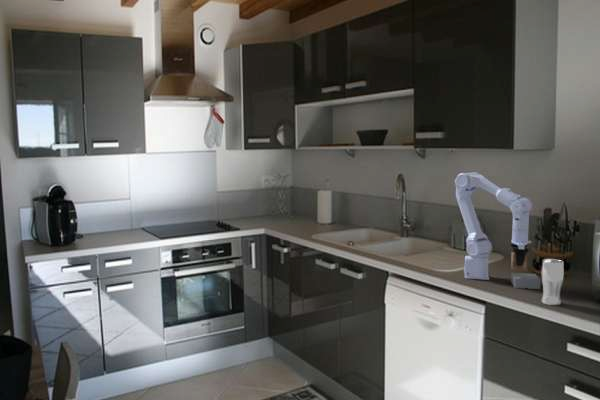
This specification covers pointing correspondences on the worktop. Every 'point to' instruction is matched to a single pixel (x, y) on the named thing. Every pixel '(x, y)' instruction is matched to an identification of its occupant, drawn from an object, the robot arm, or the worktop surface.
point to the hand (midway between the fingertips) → (518, 264)
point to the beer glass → (552, 280)
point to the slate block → (525, 280)
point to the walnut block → (514, 265)
